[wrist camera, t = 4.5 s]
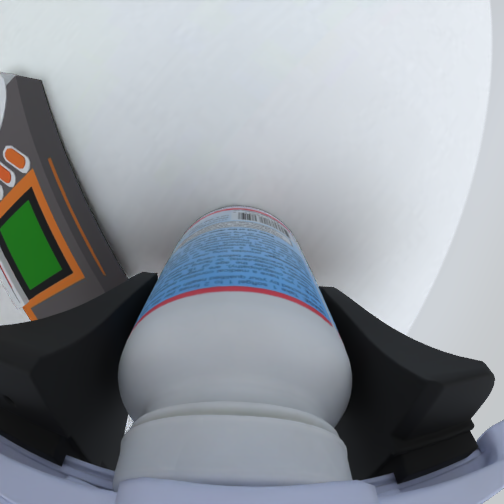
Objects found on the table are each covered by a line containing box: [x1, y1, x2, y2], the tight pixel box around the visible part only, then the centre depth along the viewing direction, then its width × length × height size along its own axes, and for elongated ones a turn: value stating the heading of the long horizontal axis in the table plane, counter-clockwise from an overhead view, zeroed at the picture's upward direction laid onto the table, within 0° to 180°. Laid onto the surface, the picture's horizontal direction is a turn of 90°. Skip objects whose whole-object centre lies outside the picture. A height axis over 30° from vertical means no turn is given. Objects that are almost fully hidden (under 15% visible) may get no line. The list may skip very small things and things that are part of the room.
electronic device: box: [0, 72, 128, 321], centre depth 11 cm, size 7×3×15 cm
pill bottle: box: [113, 206, 352, 492], centre depth 9 cm, size 6×6×11 cm
